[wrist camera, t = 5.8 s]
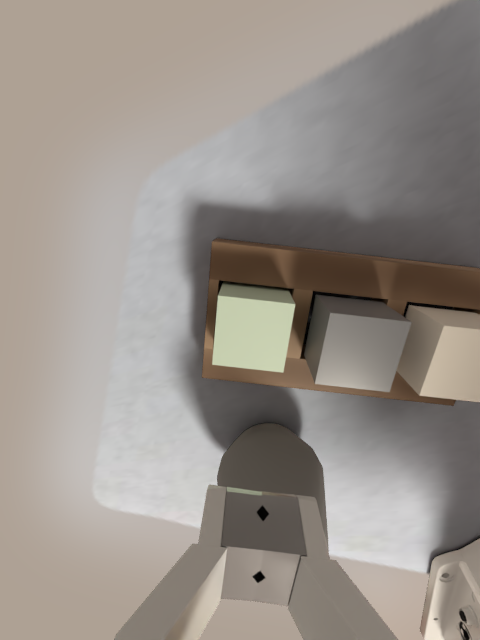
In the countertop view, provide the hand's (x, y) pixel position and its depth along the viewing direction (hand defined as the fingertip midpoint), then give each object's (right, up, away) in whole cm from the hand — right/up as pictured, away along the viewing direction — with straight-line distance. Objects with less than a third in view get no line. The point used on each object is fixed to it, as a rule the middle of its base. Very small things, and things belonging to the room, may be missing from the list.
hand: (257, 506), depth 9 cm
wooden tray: (+7, +6, +18) cm, 20 cm away
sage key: (0, +6, +16) cm, 17 cm away
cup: (+2, -8, +23) cm, 24 cm away
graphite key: (+7, +5, +15) cm, 17 cm away
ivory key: (+14, +4, +15) cm, 21 cm away
